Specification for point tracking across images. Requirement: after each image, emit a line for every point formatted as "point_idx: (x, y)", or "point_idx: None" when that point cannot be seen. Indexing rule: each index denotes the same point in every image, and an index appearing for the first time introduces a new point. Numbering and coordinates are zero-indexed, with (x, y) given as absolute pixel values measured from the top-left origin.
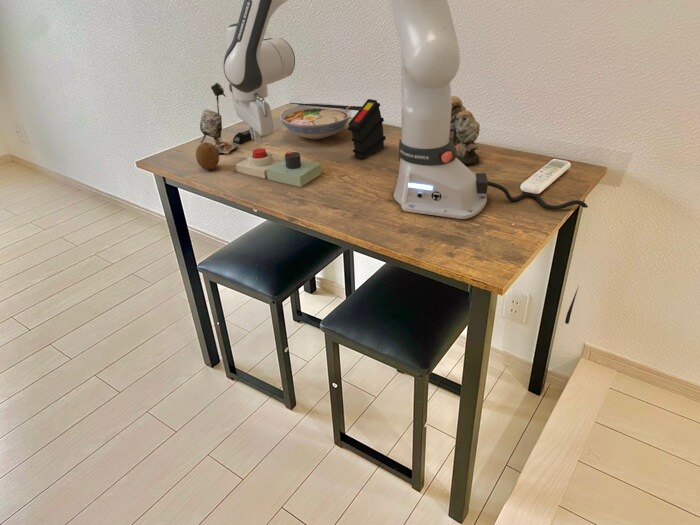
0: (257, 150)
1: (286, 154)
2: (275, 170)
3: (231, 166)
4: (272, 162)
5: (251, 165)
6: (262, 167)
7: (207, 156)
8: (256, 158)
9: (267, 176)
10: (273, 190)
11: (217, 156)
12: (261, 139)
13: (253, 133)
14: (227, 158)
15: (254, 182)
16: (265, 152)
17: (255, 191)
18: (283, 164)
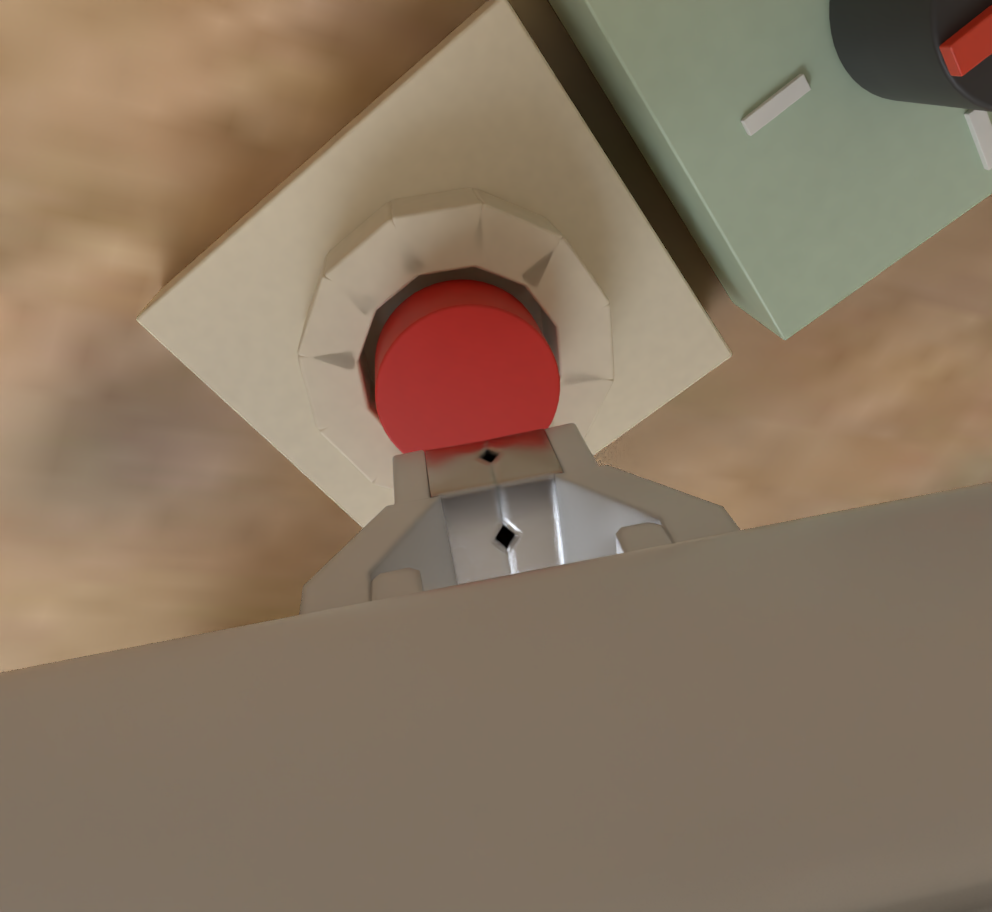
0: (451, 415)
1: (976, 72)
2: (890, 255)
3: (257, 566)
4: (547, 208)
5: None
6: (633, 351)
7: None
8: None
9: (747, 312)
10: (981, 303)
11: None
12: (581, 435)
13: (446, 579)
14: (15, 584)
15: (724, 426)
16: (518, 312)
17: (894, 445)
18: (789, 110)
